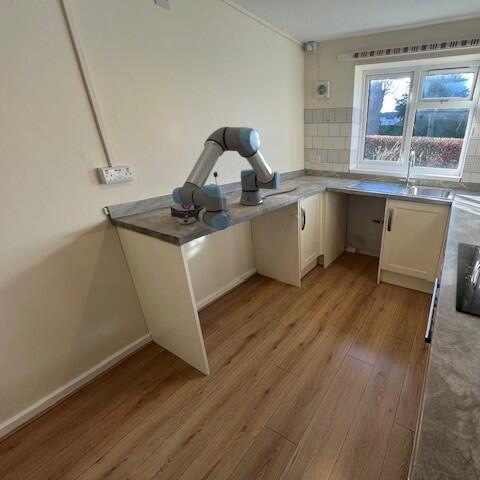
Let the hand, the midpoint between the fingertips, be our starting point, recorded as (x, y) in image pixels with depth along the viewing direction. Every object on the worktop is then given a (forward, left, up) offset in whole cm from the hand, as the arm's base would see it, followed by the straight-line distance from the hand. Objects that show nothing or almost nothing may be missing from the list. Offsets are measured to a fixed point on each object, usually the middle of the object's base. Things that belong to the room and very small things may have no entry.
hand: (185, 207), depth 136 cm
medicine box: (-24, -8, -8) cm, 27 cm away
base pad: (-13, +3, -8) cm, 16 cm away
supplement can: (0, 0, -8) cm, 8 cm away
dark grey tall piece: (-37, -34, -8) cm, 51 cm away
